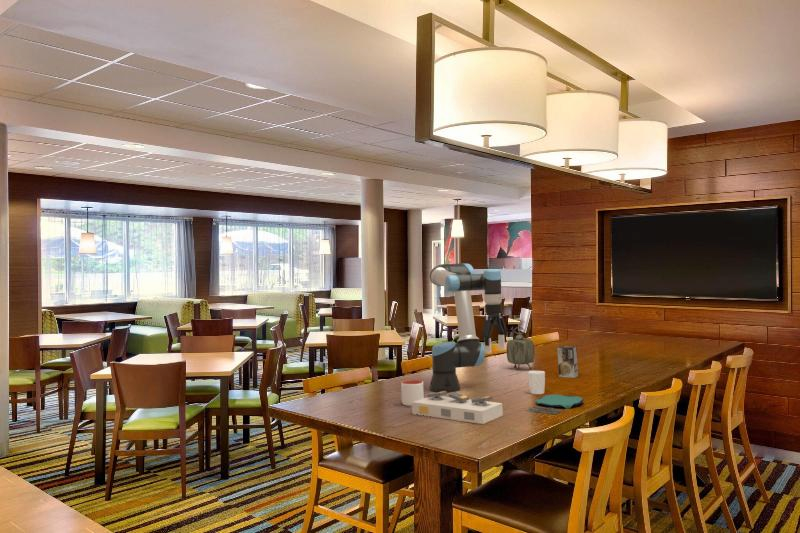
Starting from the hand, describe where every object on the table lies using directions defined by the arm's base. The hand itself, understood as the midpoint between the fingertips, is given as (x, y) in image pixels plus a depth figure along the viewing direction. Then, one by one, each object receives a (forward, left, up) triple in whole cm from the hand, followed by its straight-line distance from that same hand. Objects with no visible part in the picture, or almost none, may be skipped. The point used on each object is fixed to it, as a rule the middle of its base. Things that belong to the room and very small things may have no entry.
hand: (495, 351), depth 272 cm
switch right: (+8, -26, -16) cm, 31 cm away
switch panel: (-3, -28, -23) cm, 36 cm away
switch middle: (-3, -26, -16) cm, 31 cm away
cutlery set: (+24, +6, -24) cm, 35 cm away
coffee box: (+3, +74, -23) cm, 78 cm away
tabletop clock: (-30, +83, -23) cm, 91 cm away
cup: (-31, -21, -23) cm, 44 cm away
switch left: (-14, -26, -16) cm, 34 cm away
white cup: (+7, +27, -23) cm, 36 cm away
